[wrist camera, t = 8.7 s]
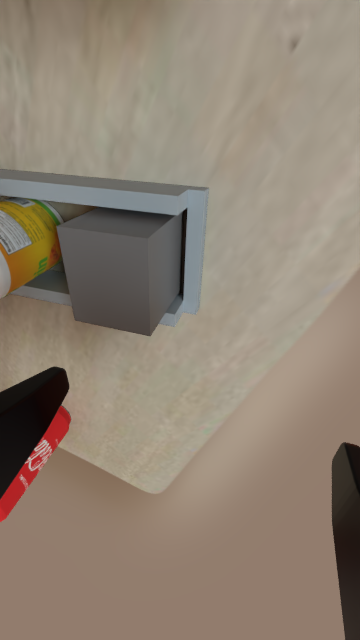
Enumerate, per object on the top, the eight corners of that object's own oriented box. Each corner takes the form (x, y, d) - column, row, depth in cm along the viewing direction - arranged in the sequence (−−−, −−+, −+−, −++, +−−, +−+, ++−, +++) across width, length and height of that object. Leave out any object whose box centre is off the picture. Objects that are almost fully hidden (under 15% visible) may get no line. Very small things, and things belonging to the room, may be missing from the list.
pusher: (182, 209, 19) (147, 238, 14) (180, 290, 22) (150, 336, 17) (111, 201, 20) (56, 226, 15) (118, 279, 23) (74, 320, 19)
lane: (208, 187, 18) (186, 206, 14) (199, 307, 23) (180, 347, 19) (-112, 158, 24) (-192, 166, 20) (-66, 259, 29) (-124, 281, 25)
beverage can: (43, 390, 35) (-48, 491, 26) (79, 415, 36) (4, 523, 26) (32, 409, 38) (-54, 505, 29) (66, 432, 39) (-7, 533, 29)
